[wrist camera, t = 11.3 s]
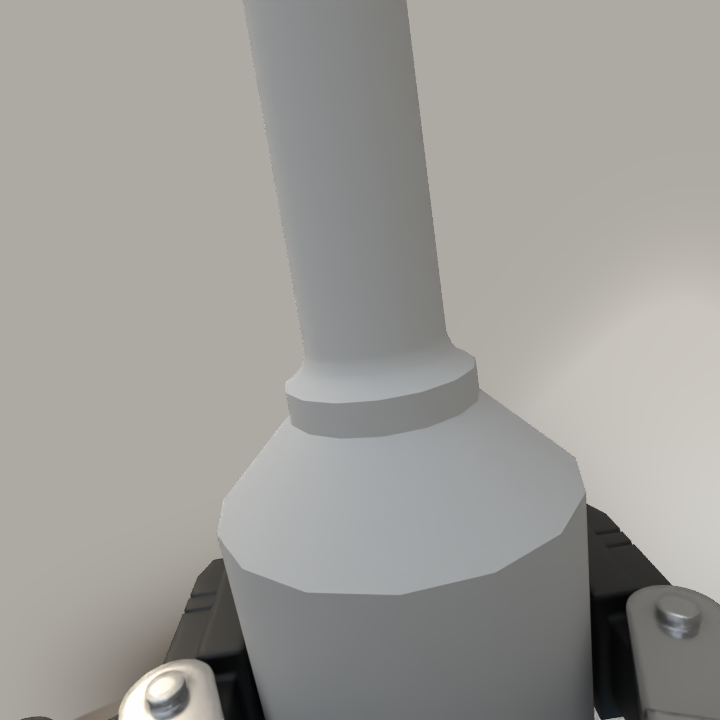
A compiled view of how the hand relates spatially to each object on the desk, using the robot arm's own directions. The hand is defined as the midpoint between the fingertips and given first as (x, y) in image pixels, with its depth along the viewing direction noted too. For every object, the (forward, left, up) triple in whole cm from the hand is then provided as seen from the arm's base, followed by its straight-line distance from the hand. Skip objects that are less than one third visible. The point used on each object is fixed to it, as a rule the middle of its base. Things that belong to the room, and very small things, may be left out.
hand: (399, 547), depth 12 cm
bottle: (+1, -3, -14) cm, 14 cm away
